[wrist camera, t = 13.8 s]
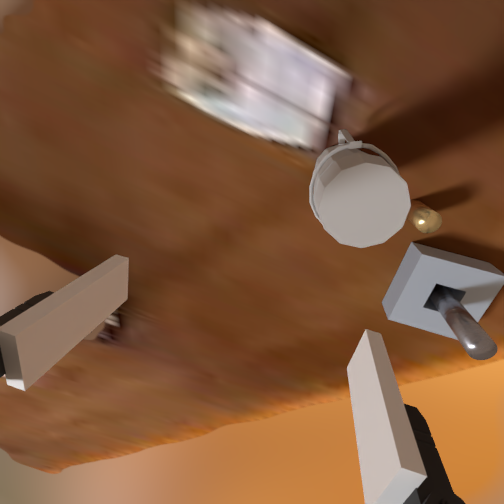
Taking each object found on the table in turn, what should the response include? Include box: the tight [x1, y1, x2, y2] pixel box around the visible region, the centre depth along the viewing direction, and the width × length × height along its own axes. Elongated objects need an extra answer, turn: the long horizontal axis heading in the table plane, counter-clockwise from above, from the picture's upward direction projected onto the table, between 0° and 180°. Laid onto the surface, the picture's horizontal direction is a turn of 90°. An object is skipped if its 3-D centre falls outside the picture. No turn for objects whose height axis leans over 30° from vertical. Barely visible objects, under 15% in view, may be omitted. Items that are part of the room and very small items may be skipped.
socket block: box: [382, 242, 504, 340], centre depth 46 cm, size 12×12×5 cm
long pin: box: [429, 284, 497, 360], centre depth 41 cm, size 3×3×16 cm
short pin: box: [406, 200, 442, 233], centre depth 41 cm, size 3×3×7 cm
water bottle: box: [310, 129, 411, 248], centre depth 32 cm, size 9×8×25 cm
